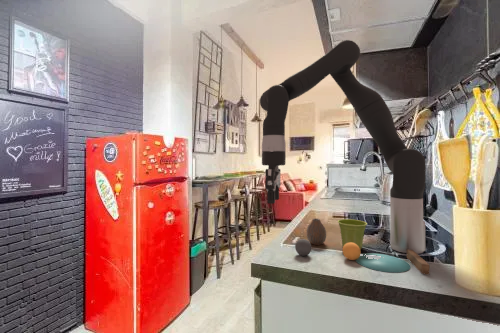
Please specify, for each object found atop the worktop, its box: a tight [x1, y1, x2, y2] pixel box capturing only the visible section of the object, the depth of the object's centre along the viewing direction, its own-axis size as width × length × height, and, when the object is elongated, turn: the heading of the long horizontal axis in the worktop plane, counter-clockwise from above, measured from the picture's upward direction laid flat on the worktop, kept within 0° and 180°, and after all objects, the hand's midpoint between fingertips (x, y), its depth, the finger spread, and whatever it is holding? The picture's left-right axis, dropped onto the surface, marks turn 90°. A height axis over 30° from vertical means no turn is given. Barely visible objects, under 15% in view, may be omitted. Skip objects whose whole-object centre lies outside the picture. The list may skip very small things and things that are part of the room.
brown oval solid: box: [306, 218, 327, 246], centre depth 90 cm, size 7×7×9 cm
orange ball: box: [342, 242, 362, 261], centre depth 74 cm, size 5×5×5 cm
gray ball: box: [294, 238, 312, 257], centre depth 78 cm, size 5×5×5 cm
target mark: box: [355, 252, 411, 273], centre depth 72 cm, size 14×14×1 cm
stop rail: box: [406, 249, 430, 276], centre depth 69 cm, size 12×2×2 cm, turn 164°
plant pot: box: [337, 218, 368, 250], centre depth 85 cm, size 9×9×9 cm
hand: (273, 201), depth 79 cm, fingers open, 8 cm apart
